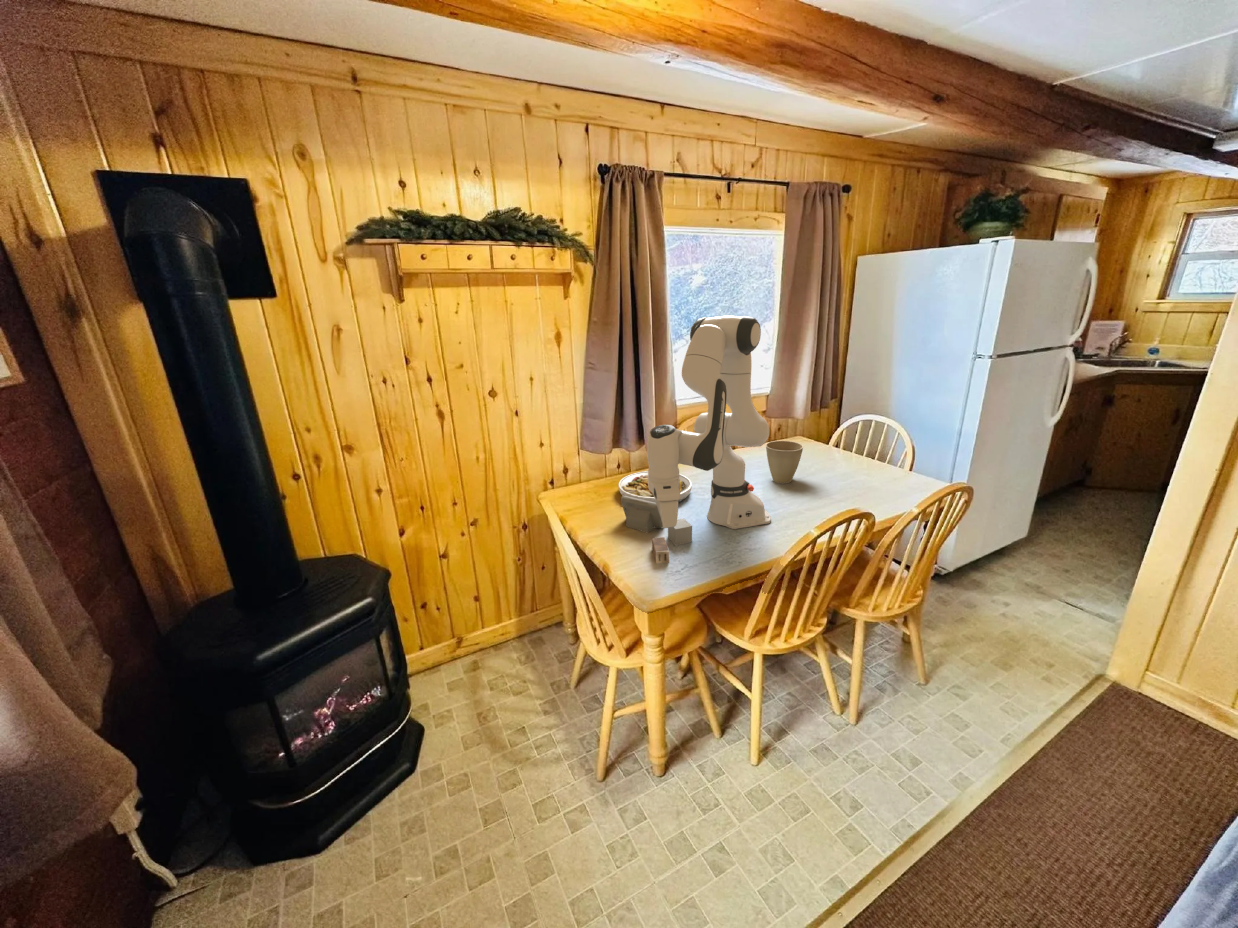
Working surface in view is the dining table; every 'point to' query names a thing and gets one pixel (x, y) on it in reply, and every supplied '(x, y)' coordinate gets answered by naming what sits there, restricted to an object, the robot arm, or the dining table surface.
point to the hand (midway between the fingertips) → (664, 525)
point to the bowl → (639, 488)
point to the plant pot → (783, 459)
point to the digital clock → (641, 514)
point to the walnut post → (660, 550)
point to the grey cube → (680, 532)
